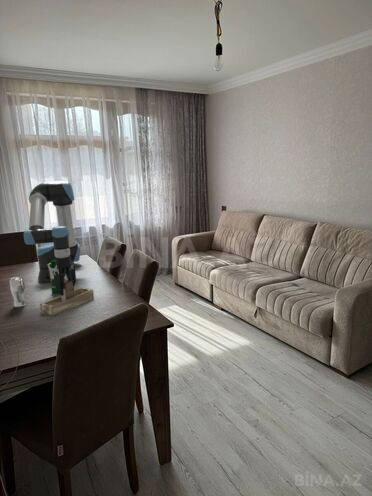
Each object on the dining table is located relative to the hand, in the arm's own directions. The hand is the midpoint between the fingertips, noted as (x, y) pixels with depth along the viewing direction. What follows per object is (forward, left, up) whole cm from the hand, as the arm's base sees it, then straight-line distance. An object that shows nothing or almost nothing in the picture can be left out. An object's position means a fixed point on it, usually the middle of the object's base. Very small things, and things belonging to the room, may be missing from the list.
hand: (68, 298), depth 183 cm
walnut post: (0, 0, 0) cm, 0 cm away
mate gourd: (-60, +58, -4) cm, 84 cm away
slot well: (0, 0, -4) cm, 4 cm away
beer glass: (-25, -11, -4) cm, 28 cm away
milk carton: (-21, +13, -4) cm, 25 cm away
